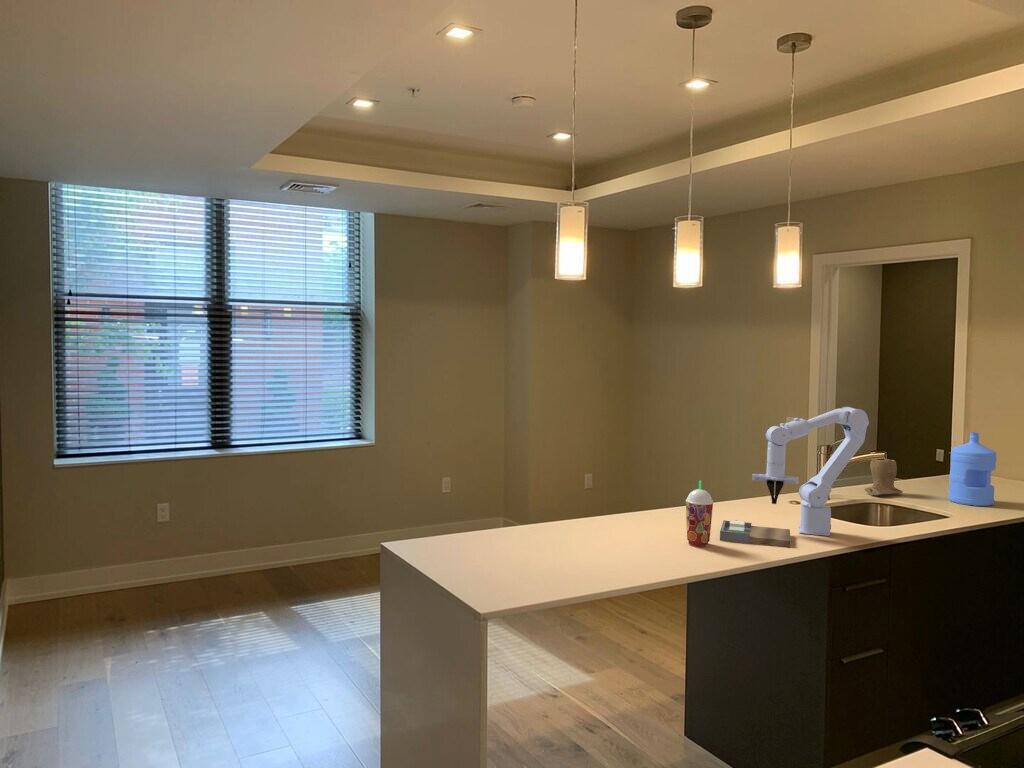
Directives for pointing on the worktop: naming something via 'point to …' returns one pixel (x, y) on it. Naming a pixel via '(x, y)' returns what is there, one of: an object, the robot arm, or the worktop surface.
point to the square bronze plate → (770, 536)
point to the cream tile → (737, 523)
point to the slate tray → (735, 533)
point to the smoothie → (699, 517)
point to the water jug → (972, 473)
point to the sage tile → (736, 529)
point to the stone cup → (883, 478)
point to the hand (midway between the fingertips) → (774, 503)
